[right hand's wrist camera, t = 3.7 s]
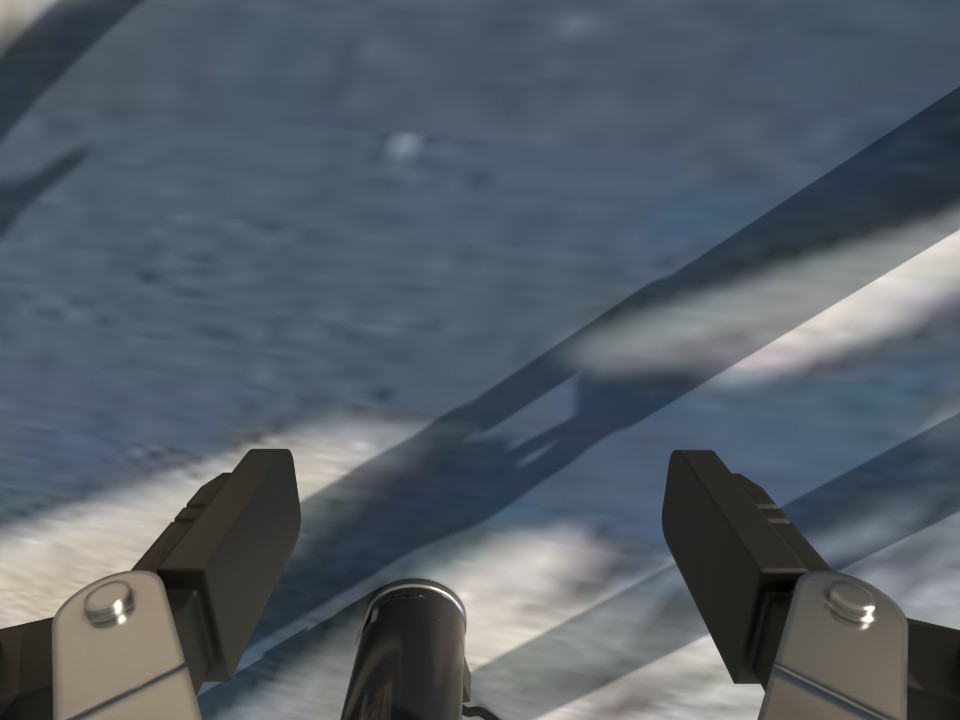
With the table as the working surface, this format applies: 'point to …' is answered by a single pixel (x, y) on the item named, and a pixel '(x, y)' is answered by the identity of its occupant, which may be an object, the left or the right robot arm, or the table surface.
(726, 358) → the table surface
